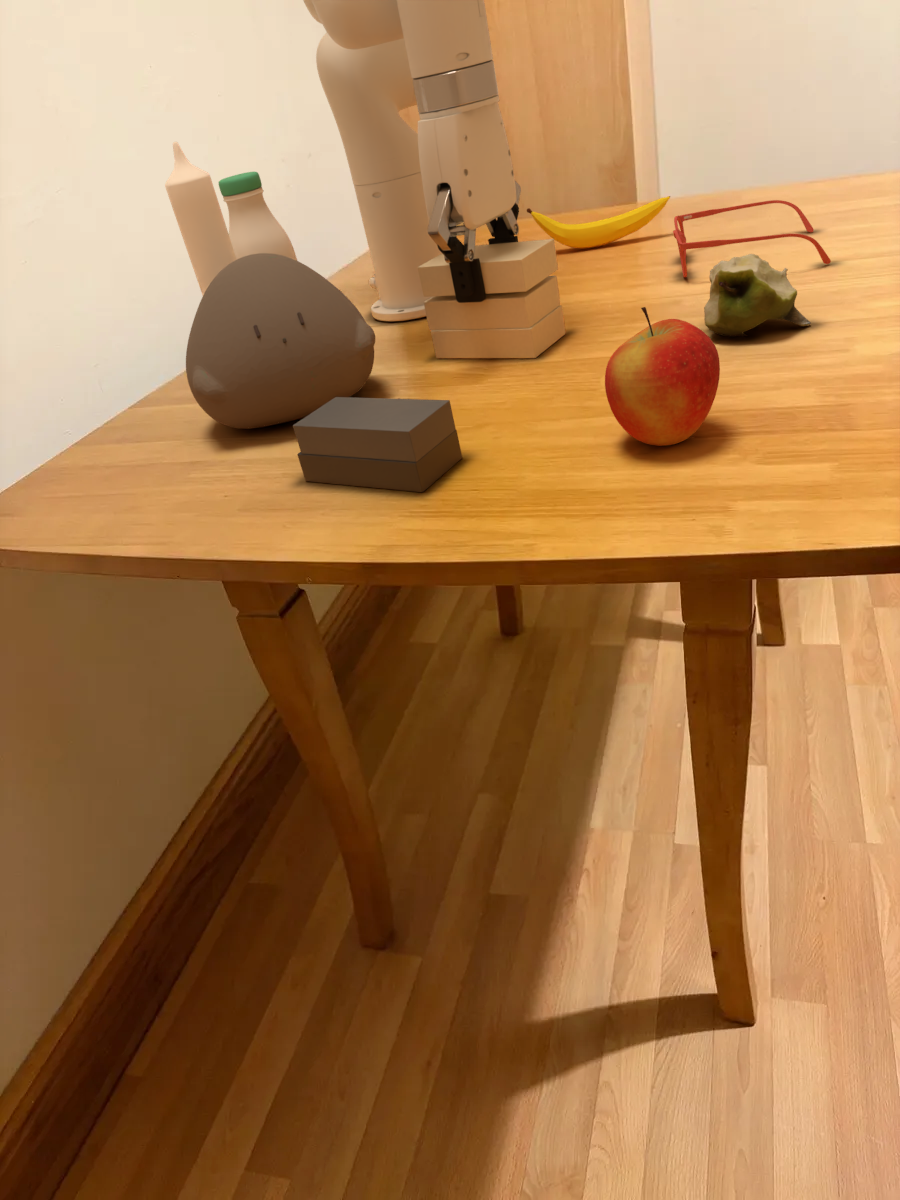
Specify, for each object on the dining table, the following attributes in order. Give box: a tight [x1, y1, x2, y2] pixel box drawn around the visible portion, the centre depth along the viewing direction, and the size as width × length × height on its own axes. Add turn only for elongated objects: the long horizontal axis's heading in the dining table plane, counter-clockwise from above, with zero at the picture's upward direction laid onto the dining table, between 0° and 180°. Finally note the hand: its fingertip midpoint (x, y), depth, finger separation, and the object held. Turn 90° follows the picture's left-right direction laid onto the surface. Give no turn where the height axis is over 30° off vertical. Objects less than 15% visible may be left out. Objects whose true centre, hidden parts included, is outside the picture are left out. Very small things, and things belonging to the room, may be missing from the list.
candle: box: [164, 141, 237, 296], centre depth 93 cm, size 7×7×25 cm
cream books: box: [424, 275, 566, 359], centre depth 93 cm, size 12×7×6 cm, turn 58°
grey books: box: [292, 396, 463, 493], centre depth 72 cm, size 12×6×5 cm, turn 58°
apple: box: [604, 306, 721, 447], centre depth 65 cm, size 8×8×10 cm
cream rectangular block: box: [417, 238, 559, 297], centre depth 90 cm, size 12×7×3 cm, turn 58°
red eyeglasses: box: [672, 199, 832, 278], centre depth 102 cm, size 17×16×5 cm
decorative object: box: [185, 253, 376, 430], centre depth 87 cm, size 18×18×15 cm
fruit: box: [703, 253, 812, 338], centre depth 82 cm, size 9×9×8 cm
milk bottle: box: [218, 171, 298, 261], centre depth 104 cm, size 8×8×20 cm
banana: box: [526, 195, 671, 250], centre depth 121 cm, size 3×19×6 cm, turn 76°
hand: (490, 287), depth 91 cm, fingers closed on cream rectangular block, 7 cm apart
